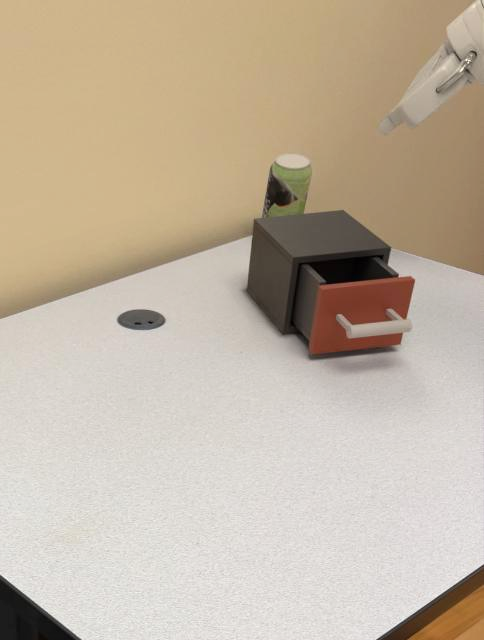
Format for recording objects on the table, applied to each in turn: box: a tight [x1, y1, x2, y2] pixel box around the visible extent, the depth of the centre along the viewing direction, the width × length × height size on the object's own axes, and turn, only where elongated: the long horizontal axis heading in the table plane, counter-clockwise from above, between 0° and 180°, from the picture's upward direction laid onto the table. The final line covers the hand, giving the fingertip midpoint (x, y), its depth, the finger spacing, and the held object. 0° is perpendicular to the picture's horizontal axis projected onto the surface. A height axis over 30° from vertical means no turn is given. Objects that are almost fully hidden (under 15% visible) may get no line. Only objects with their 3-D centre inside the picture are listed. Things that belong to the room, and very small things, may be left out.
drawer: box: [291, 255, 416, 355], centre depth 106 cm, size 18×11×8 cm, turn 8°
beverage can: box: [261, 152, 313, 218], centre depth 133 cm, size 6×7×12 cm
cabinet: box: [246, 209, 392, 335], centre depth 115 cm, size 15×12×10 cm
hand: (382, 128), depth 121 cm, fingers closed
